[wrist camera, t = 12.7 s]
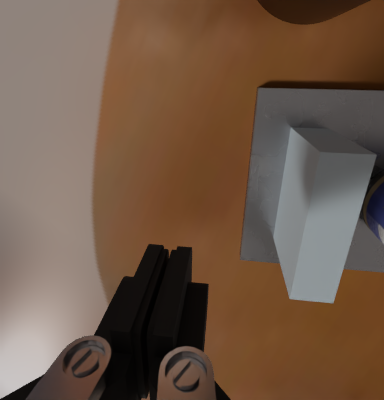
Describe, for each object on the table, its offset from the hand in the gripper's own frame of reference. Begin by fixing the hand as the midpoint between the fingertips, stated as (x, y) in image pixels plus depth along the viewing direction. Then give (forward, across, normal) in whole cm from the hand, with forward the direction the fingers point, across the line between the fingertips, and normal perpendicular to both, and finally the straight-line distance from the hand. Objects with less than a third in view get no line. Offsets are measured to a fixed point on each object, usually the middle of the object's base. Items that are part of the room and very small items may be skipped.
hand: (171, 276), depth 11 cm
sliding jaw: (+12, -8, +1) cm, 14 cm away
